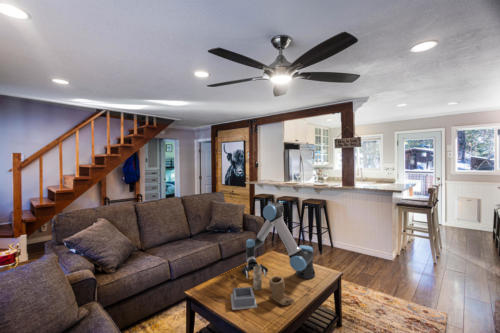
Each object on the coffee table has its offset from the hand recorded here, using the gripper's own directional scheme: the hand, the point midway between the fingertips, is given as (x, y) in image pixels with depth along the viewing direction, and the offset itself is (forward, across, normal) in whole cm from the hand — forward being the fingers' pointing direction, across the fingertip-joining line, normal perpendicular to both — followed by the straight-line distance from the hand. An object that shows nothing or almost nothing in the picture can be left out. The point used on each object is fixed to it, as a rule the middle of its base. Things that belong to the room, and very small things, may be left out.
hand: (256, 276), depth 175 cm
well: (+15, +11, -8) cm, 21 cm away
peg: (+1, -1, -8) cm, 9 cm away
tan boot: (+18, -13, -9) cm, 24 cm away
